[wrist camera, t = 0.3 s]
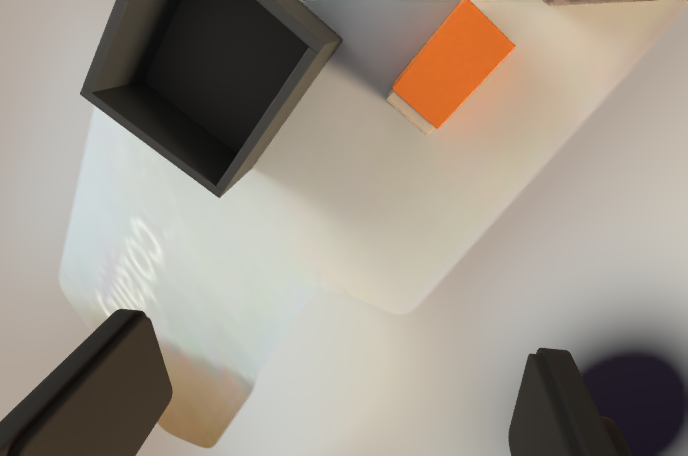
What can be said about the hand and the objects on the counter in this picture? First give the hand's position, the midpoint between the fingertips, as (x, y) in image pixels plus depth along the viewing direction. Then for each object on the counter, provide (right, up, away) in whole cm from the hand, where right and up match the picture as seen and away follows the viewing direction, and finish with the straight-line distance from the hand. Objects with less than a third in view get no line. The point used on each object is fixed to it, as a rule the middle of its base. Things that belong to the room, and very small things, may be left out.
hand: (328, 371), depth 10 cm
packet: (+9, +18, +24) cm, 31 cm away
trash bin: (-10, +19, +27) cm, 34 cm away
